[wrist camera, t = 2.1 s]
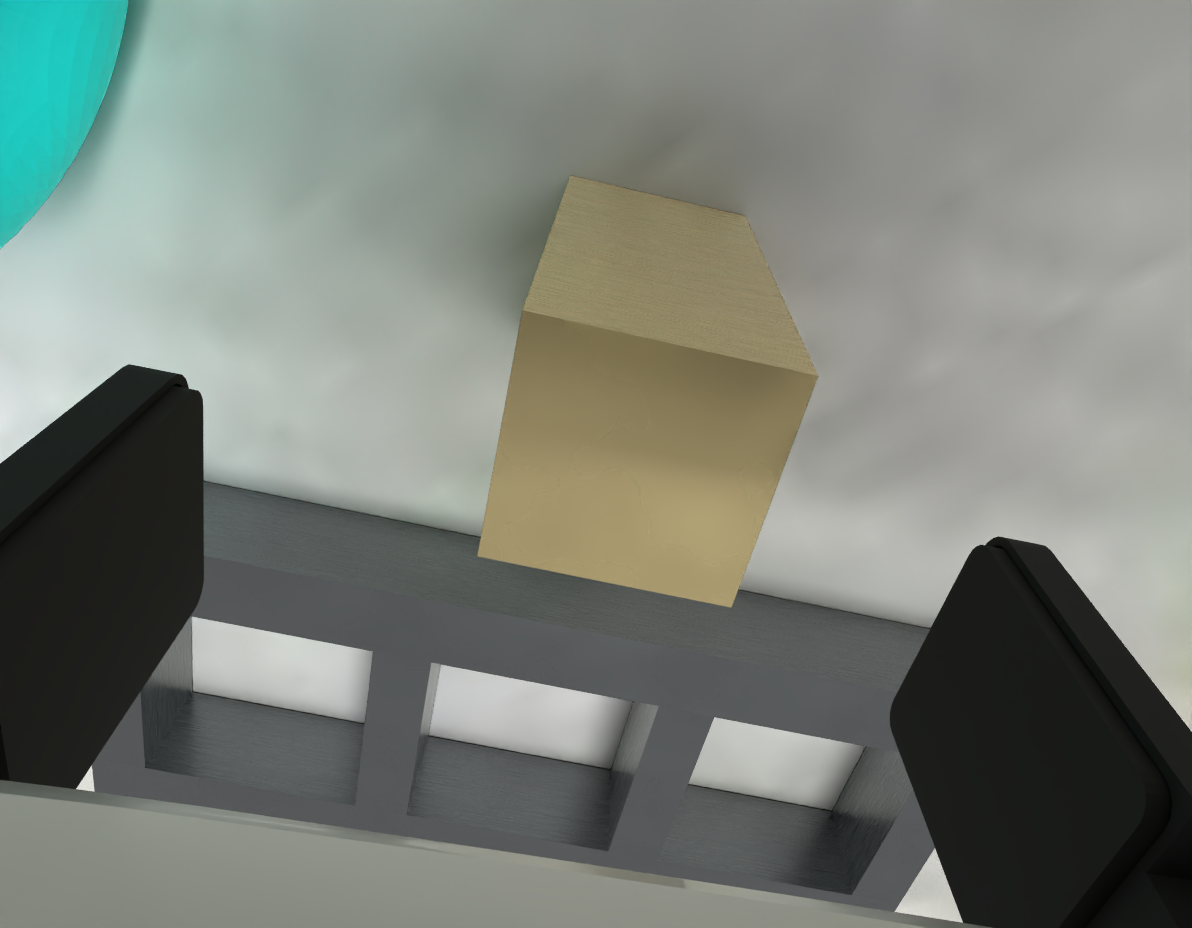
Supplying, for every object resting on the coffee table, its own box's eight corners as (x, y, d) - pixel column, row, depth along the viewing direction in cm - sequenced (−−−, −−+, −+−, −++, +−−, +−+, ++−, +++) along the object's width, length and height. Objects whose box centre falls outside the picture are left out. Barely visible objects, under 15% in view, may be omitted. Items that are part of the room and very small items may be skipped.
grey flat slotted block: (977, 638, 25) (1018, 716, 22) (853, 857, 30) (874, 942, 27) (131, 466, 23) (67, 528, 21) (146, 728, 28) (96, 804, 25)
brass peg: (745, 215, 19) (818, 375, 11) (697, 376, 21) (731, 607, 13) (570, 175, 19) (521, 310, 11) (537, 341, 21) (476, 556, 13)
